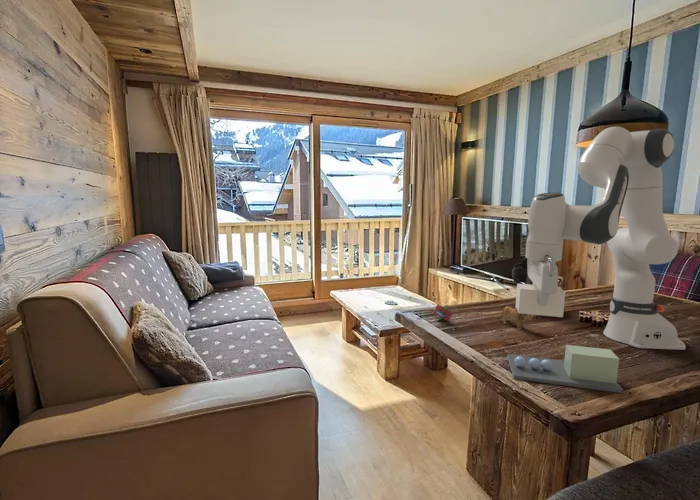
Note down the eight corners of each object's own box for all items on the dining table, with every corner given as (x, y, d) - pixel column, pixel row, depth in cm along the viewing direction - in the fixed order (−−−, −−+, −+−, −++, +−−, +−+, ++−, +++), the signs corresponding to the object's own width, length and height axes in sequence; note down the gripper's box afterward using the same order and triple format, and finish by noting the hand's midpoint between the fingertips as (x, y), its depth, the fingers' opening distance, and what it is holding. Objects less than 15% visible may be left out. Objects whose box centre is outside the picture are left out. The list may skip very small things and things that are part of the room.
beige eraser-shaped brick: (557, 310, 104) (559, 286, 103) (562, 317, 98) (565, 292, 97) (515, 306, 107) (517, 283, 106) (518, 313, 101) (520, 288, 100)
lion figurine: (535, 329, 138) (537, 306, 136) (528, 332, 134) (530, 309, 133) (500, 318, 149) (501, 297, 148) (492, 321, 146) (494, 299, 145)
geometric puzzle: (458, 315, 146) (447, 298, 148) (452, 320, 141) (441, 302, 143) (444, 323, 150) (434, 306, 152) (438, 327, 145) (427, 310, 147)
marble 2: (538, 367, 106) (540, 357, 105) (540, 371, 103) (542, 362, 103) (526, 364, 107) (528, 355, 106) (528, 369, 104) (530, 359, 103)
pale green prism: (607, 373, 102) (610, 349, 101) (616, 383, 97) (619, 358, 96) (563, 367, 105) (566, 344, 104) (569, 377, 100) (572, 353, 99)
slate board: (602, 368, 107) (603, 365, 107) (622, 393, 94) (623, 389, 94) (507, 356, 114) (507, 353, 114) (513, 378, 101) (513, 375, 101)
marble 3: (550, 368, 105) (551, 358, 105) (552, 373, 102) (554, 363, 102) (538, 366, 106) (540, 356, 105) (541, 371, 103) (542, 361, 103)
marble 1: (525, 363, 107) (523, 353, 107) (527, 368, 104) (525, 358, 104) (515, 364, 108) (512, 355, 108) (516, 369, 105) (514, 360, 105)
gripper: (567, 259, 89) (561, 314, 91) (547, 247, 108) (543, 292, 110) (538, 258, 91) (534, 311, 93) (524, 246, 110) (521, 291, 112)
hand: (539, 301), depth 102 cm, fingers closed on beige eraser-shaped brick, 6 cm apart
